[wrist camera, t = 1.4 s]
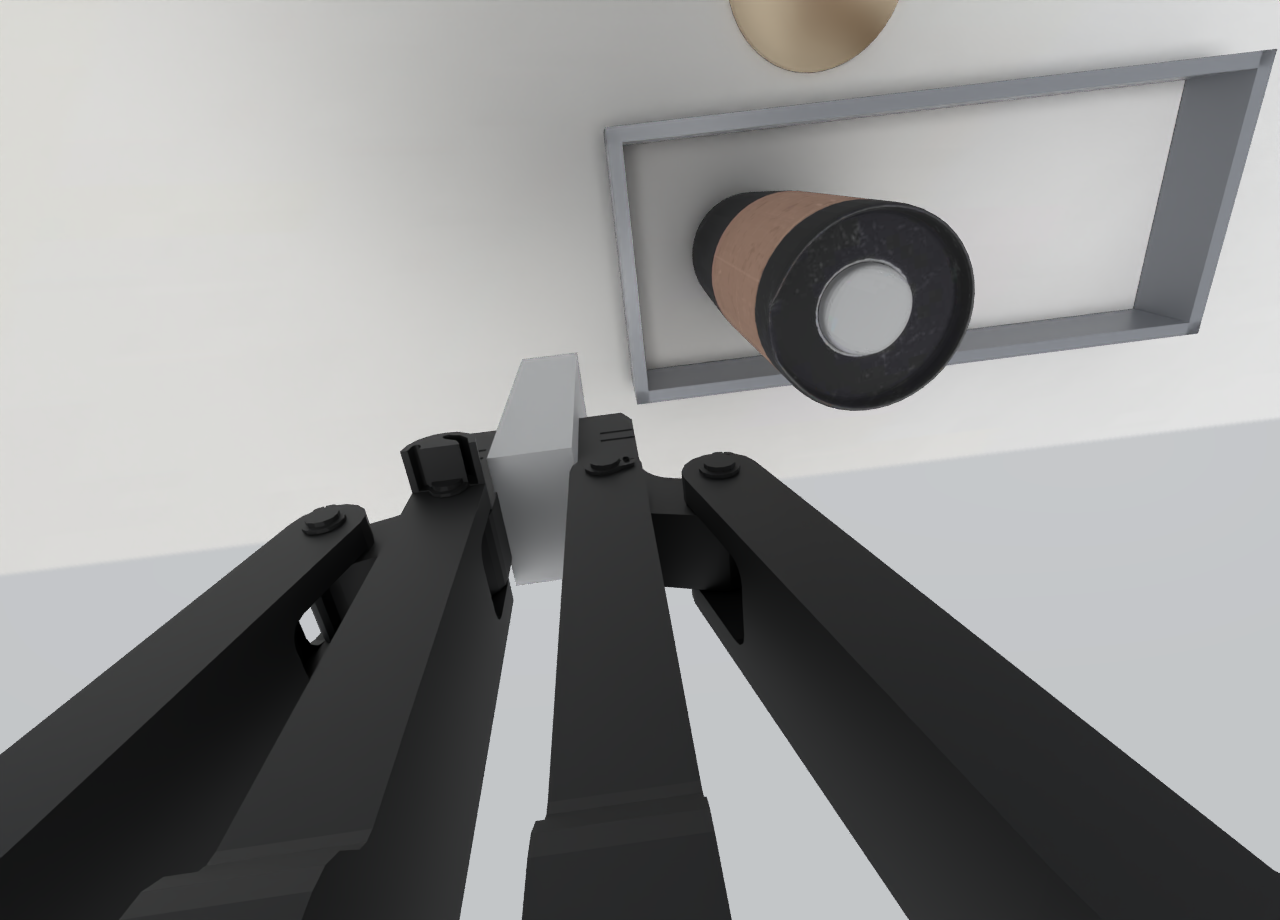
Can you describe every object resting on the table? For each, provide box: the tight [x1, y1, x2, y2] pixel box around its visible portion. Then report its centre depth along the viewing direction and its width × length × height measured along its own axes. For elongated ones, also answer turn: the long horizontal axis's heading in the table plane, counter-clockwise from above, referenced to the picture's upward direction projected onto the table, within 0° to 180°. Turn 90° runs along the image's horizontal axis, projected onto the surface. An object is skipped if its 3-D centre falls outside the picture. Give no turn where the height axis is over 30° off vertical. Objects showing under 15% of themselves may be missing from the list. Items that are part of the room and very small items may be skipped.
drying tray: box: [604, 49, 1277, 404], centre depth 38 cm, size 37×16×4 cm, turn 96°
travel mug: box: [692, 191, 975, 411], centre depth 31 cm, size 8×8×20 cm
